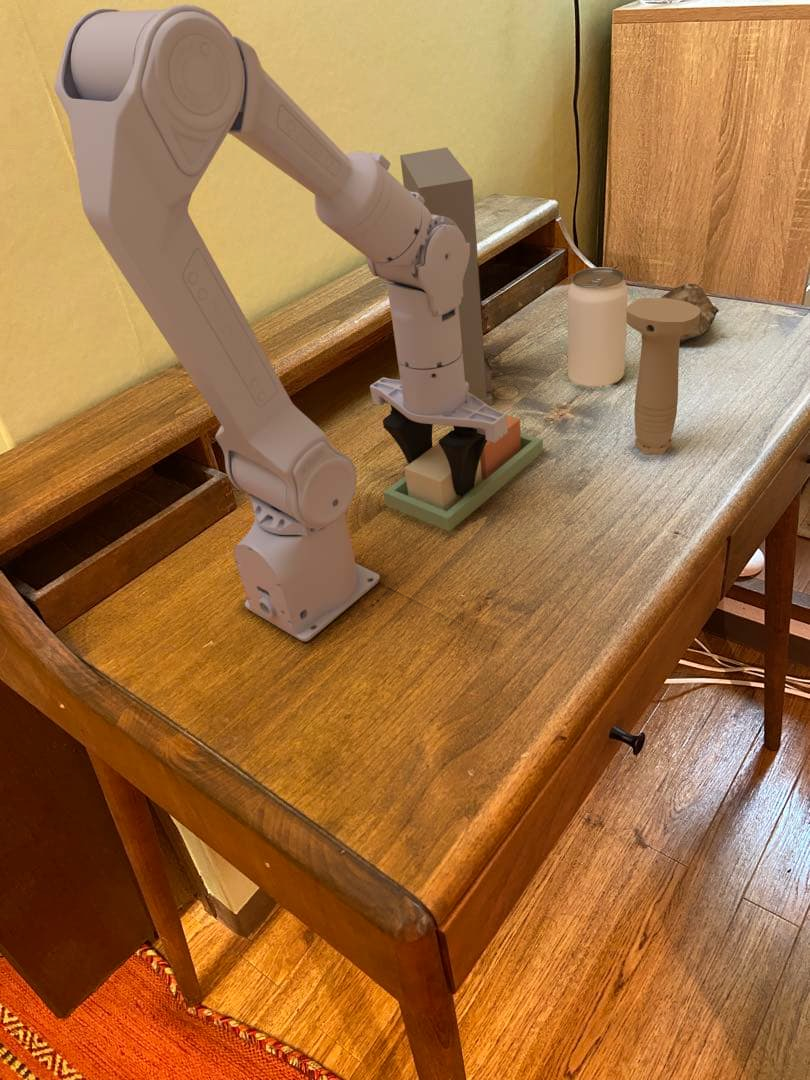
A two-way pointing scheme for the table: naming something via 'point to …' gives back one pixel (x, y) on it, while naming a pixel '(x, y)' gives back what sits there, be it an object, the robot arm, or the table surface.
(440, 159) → the tall grey pillar
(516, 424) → the orange red block
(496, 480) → the tray
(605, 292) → the can
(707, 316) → the fossilized seashell
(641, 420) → the handle
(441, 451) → the beige block
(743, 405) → the table surface
